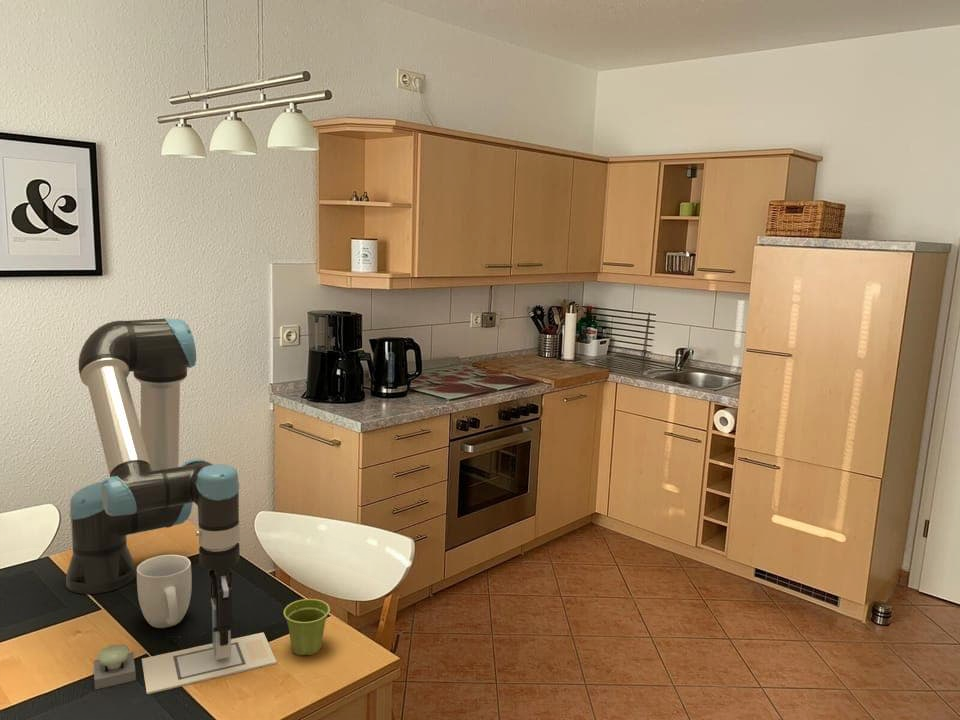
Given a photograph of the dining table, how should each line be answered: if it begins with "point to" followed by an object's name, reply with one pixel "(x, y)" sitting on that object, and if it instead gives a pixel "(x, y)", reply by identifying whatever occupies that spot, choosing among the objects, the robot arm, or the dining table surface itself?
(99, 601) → the dining table surface
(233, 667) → the sheet
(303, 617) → the plant pot
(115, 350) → the robot arm
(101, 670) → the button housing
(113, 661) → the button
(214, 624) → the square grey prism
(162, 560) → the mug
